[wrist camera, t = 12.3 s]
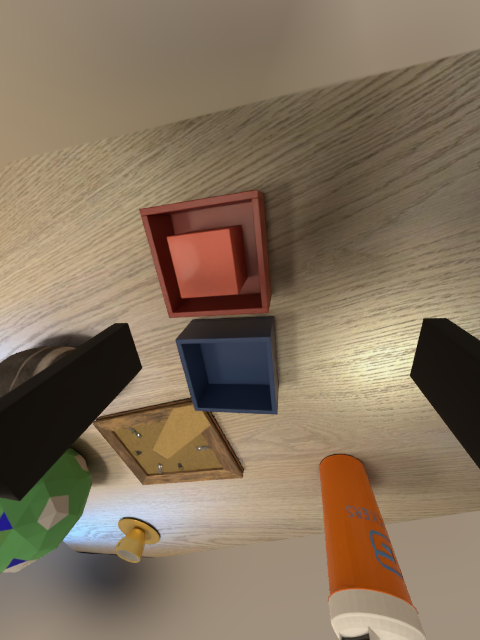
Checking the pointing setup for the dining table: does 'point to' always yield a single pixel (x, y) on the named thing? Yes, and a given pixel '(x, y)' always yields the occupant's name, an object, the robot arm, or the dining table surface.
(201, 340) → the blue bin
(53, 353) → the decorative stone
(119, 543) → the cup
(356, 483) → the shaker bottle
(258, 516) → the dining table surface
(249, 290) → the red bin
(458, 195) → the dining table surface
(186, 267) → the red block
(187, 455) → the picture frame
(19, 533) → the decorative sphere
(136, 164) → the dining table surface
